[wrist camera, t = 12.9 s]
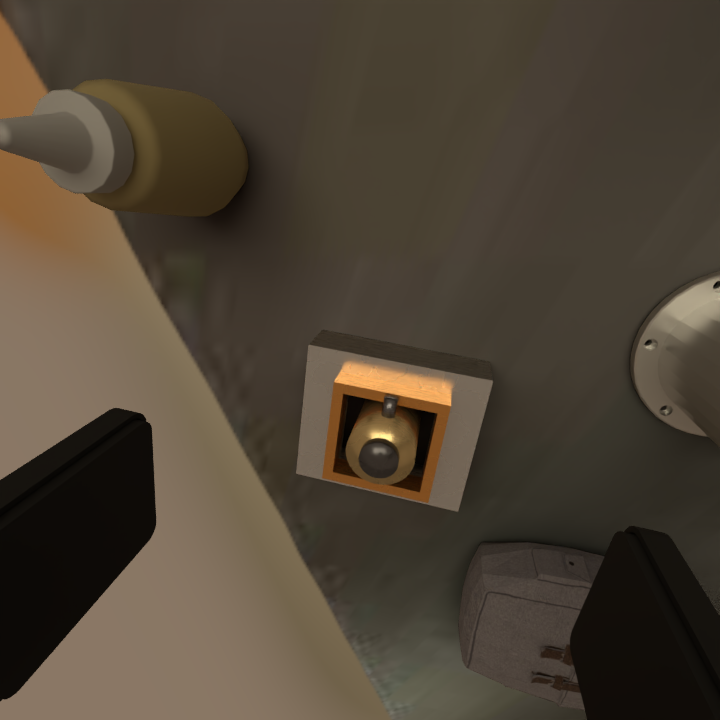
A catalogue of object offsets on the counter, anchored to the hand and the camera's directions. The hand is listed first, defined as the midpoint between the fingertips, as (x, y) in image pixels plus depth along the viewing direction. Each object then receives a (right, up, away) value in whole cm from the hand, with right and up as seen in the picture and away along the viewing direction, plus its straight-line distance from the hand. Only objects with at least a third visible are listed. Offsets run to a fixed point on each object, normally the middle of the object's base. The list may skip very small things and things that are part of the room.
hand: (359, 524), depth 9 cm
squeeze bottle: (-11, +19, +26) cm, 34 cm away
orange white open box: (+3, -1, +31) cm, 31 cm away
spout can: (+3, -1, +30) cm, 31 cm away
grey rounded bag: (+20, -19, +34) cm, 44 cm away
